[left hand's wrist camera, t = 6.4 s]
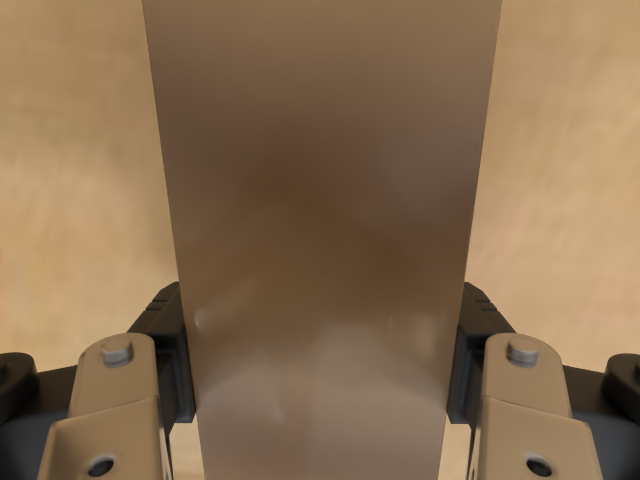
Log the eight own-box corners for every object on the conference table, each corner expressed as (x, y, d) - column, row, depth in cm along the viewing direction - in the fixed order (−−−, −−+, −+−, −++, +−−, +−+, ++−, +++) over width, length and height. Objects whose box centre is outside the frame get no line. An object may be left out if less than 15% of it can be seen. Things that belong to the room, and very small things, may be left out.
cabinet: (227, -233, 12) (5, -1018, 4) (413, -234, 12) (640, -1015, 4) (260, 328, 19) (210, 527, 10) (380, 328, 19) (432, 526, 10)
